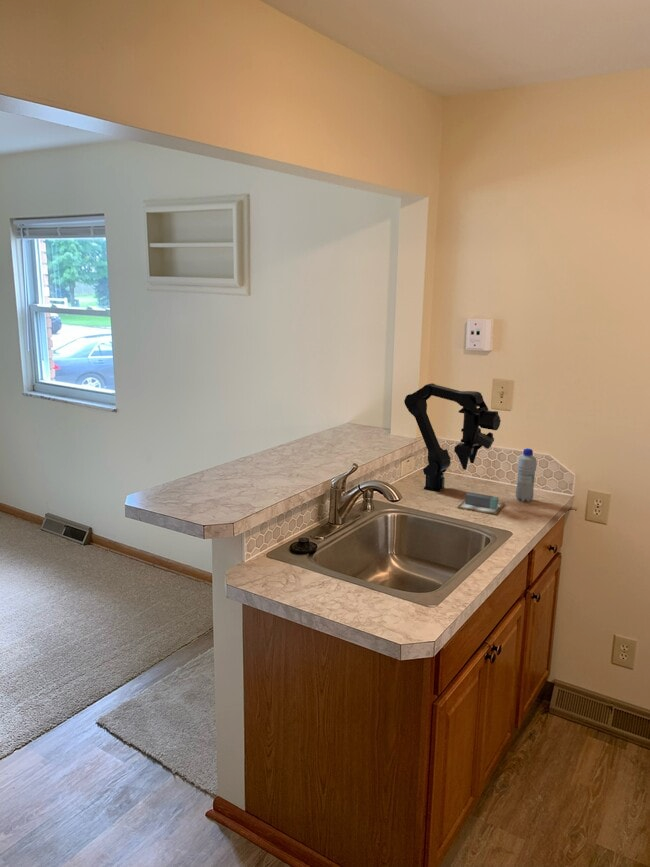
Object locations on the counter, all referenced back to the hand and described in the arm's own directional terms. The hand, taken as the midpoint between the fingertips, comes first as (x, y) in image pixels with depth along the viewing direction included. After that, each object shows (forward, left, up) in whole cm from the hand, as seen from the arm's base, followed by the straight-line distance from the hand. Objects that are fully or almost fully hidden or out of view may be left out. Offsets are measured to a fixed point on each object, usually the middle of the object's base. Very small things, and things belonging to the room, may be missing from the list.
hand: (468, 466), depth 250 cm
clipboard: (+8, -8, -12) cm, 16 cm away
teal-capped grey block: (+8, -8, -11) cm, 16 cm away
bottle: (+20, +7, -12) cm, 24 cm away
